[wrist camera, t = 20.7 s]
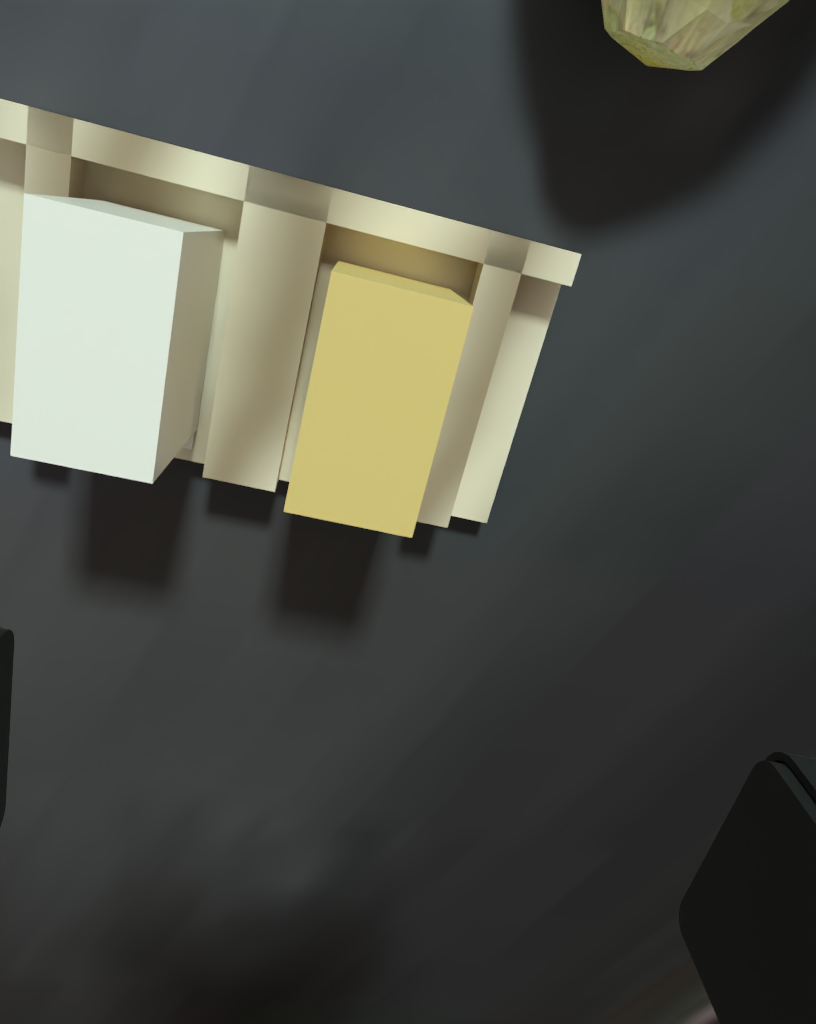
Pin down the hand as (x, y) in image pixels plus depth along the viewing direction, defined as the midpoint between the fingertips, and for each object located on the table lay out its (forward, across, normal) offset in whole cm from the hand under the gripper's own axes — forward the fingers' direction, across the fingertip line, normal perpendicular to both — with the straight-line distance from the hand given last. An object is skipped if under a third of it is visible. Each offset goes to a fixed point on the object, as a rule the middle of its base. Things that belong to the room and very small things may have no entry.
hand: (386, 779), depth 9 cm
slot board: (+24, +4, 0) cm, 25 cm away
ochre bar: (+23, 0, 0) cm, 23 cm away
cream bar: (+23, +9, 0) cm, 25 cm away
